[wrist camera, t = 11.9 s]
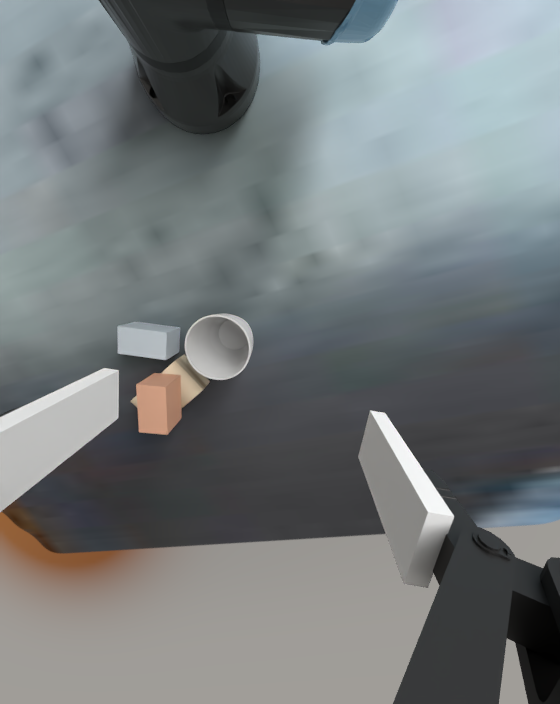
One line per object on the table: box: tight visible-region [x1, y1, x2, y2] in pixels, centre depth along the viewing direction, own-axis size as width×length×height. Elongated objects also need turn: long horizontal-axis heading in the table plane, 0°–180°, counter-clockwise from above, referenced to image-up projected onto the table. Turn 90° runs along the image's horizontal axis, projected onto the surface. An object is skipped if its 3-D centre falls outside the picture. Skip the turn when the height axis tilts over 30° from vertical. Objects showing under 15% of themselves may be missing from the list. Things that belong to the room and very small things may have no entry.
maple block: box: [131, 355, 210, 409], centre depth 46 cm, size 10×6×4 cm, turn 131°
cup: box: [185, 313, 253, 380], centre depth 40 cm, size 8×8×10 cm
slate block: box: [118, 321, 180, 360], centre depth 43 cm, size 7×4×5 cm, turn 83°
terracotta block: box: [136, 373, 182, 435], centre depth 41 cm, size 7×4×5 cm, turn 176°
